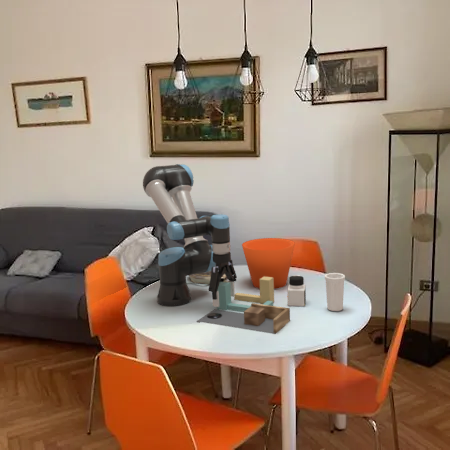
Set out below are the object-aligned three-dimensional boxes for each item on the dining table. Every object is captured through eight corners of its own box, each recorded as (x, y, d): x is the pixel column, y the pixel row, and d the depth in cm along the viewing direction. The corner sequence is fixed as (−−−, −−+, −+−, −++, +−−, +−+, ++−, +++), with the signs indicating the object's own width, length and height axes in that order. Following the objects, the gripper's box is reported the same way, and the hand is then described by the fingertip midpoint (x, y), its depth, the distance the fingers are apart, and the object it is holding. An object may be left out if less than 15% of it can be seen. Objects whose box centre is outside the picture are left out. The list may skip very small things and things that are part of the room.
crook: (217, 309, 223) (215, 284, 220) (230, 300, 233) (229, 276, 231) (261, 316, 213) (260, 290, 211) (273, 306, 223) (272, 281, 221)
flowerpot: (296, 276, 264) (295, 237, 261) (295, 292, 240) (294, 249, 236) (246, 276, 268) (244, 238, 264) (240, 292, 244) (239, 250, 240)
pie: (171, 281, 268) (170, 271, 267) (207, 269, 288) (206, 260, 287) (213, 290, 250) (212, 280, 249) (248, 276, 270) (247, 267, 269)
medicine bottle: (304, 306, 221) (304, 279, 219) (287, 306, 223) (287, 278, 221) (305, 300, 228) (305, 274, 226) (289, 300, 230) (288, 273, 227)
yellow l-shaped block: (274, 301, 229) (273, 277, 227) (269, 305, 225) (269, 280, 223) (238, 297, 237) (237, 273, 235) (233, 300, 233) (232, 276, 231)
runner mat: (196, 322, 210) (196, 321, 210) (214, 310, 222) (214, 309, 222) (275, 335, 194) (275, 333, 194) (290, 321, 206) (290, 320, 206)
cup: (332, 304, 222) (332, 271, 219) (349, 308, 217) (349, 275, 214) (321, 309, 217) (320, 276, 214) (337, 314, 211) (337, 279, 208)
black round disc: (204, 318, 213) (204, 317, 213) (211, 313, 218) (211, 312, 218) (217, 320, 210) (217, 319, 210) (224, 315, 216) (224, 314, 215)
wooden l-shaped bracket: (238, 327, 202) (237, 314, 201) (252, 316, 213) (252, 303, 212) (276, 334, 194) (276, 319, 193) (290, 321, 206) (289, 308, 205)
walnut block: (244, 323, 205) (243, 311, 204) (251, 318, 210) (250, 306, 209) (258, 326, 202) (258, 313, 201) (265, 320, 207) (264, 308, 206)
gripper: (214, 260, 206) (217, 312, 210) (243, 246, 228) (245, 293, 232) (197, 258, 210) (201, 309, 214) (227, 244, 231) (230, 291, 235)
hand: (224, 301), depth 223 cm, fingers open, 13 cm apart
